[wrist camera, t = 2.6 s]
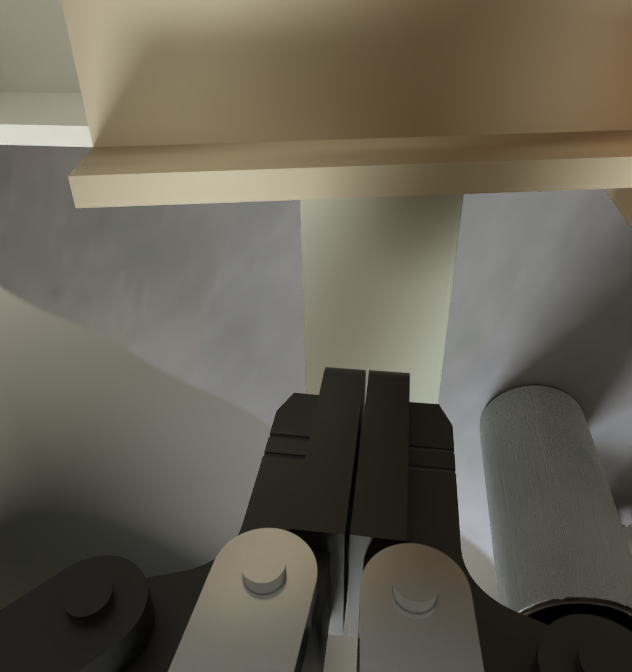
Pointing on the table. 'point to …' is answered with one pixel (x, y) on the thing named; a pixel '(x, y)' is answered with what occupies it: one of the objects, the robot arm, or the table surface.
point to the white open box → (39, 77)
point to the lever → (355, 136)
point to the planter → (552, 510)
